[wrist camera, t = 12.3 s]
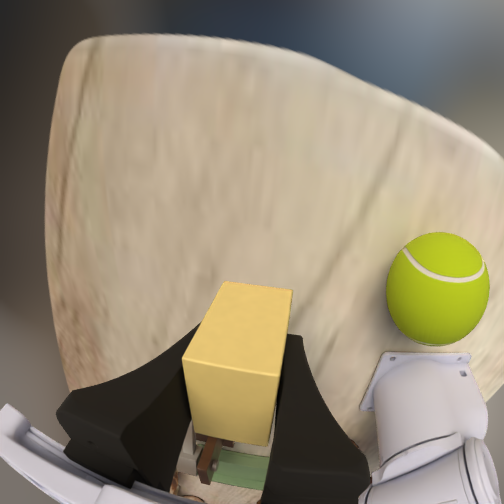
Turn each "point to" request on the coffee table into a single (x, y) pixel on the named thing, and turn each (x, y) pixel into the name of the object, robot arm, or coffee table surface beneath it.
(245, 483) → the butter dish
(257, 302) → the block
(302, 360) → the robot arm
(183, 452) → the lever
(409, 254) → the tennis ball
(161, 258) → the coffee table surface
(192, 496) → the sculpture
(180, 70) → the coffee table surface
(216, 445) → the brown lever mount bracket
